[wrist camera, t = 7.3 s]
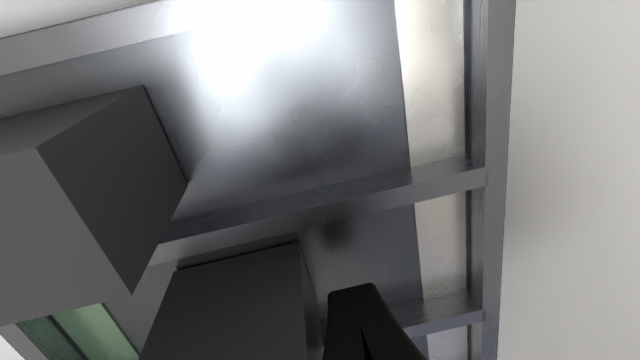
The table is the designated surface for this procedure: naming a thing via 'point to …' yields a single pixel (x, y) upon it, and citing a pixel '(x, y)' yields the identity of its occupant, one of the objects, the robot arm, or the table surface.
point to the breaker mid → (239, 311)
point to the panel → (302, 151)
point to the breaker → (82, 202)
